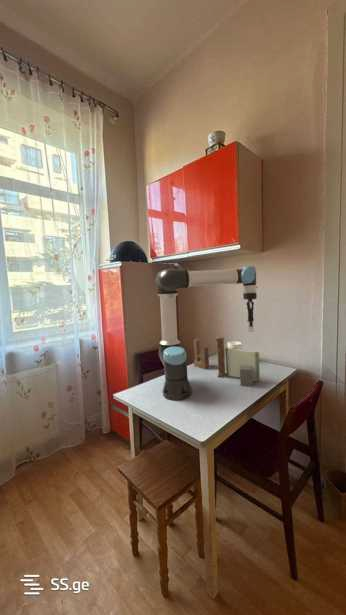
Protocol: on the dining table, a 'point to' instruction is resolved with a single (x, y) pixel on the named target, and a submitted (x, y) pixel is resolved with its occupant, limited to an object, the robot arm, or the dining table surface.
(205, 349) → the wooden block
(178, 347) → the robot arm
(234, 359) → the door
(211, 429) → the dining table surface
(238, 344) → the foam cup
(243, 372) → the dark grey upright block
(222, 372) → the door post
